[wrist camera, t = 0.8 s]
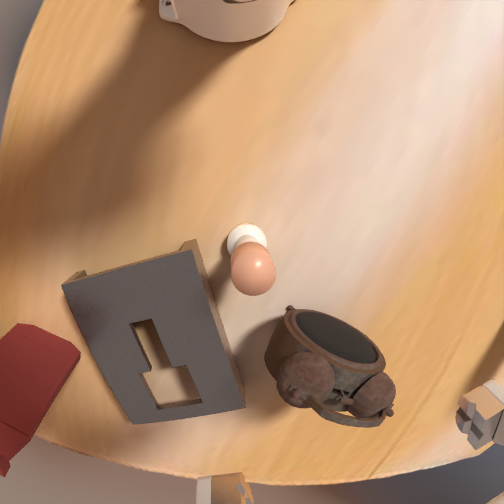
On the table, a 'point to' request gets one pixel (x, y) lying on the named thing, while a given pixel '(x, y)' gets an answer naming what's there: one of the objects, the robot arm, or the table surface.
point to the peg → (250, 260)
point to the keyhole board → (168, 328)
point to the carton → (29, 383)
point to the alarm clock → (329, 369)
